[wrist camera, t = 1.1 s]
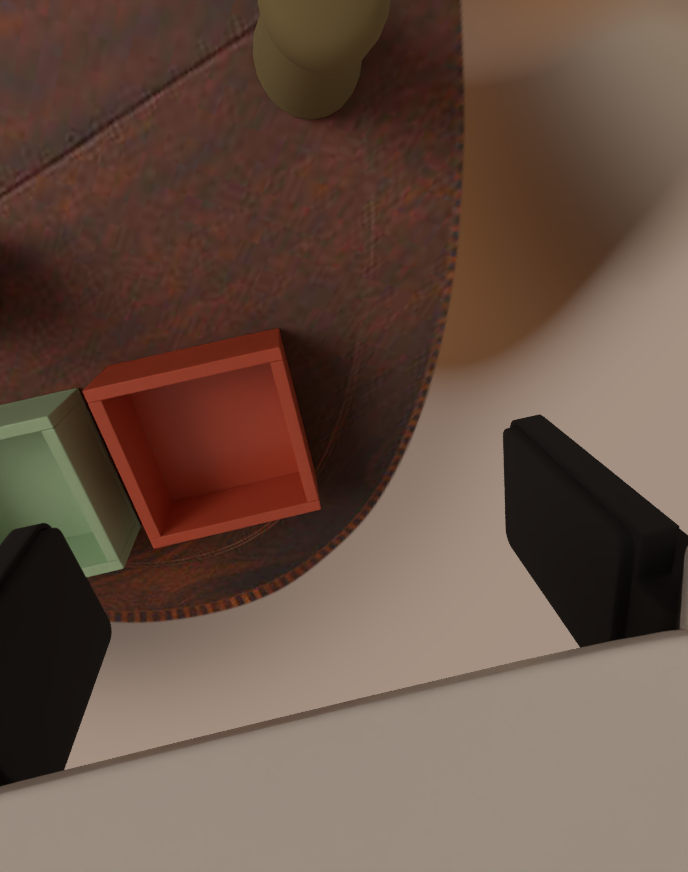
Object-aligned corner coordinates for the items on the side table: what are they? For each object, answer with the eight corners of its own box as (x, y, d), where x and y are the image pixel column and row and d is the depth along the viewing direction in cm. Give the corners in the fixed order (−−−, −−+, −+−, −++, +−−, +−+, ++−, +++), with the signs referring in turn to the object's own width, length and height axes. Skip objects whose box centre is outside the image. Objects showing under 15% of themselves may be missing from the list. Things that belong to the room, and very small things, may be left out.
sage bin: (-96, 426, 33) (-154, 461, 28) (78, 387, 33) (47, 415, 29) (-9, 561, 38) (-47, 609, 34) (141, 526, 38) (123, 568, 34)
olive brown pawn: (376, 11, 27) (436, -101, 17) (345, 135, 29) (382, 99, 19) (265, -36, 26) (261, -188, 16) (242, 98, 28) (225, 39, 18)
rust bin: (107, 365, 33) (81, 391, 29) (278, 327, 33) (279, 346, 29) (167, 508, 38) (153, 549, 34) (315, 473, 38) (321, 509, 34)
